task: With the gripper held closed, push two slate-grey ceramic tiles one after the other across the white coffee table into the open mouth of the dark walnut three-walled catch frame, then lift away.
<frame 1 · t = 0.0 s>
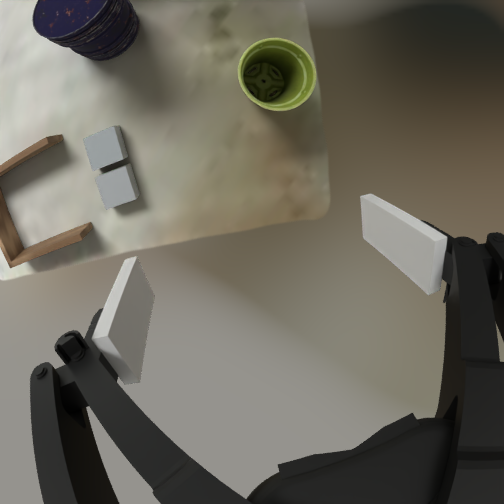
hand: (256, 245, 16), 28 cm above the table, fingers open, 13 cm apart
catch frame: (39, 198, 37), on the table
plant pot: (263, 82, 36), on the table
storage jar: (108, 32, 29), on the table
tile b: (120, 183, 39), on the table
tile a: (109, 146, 37), on the table
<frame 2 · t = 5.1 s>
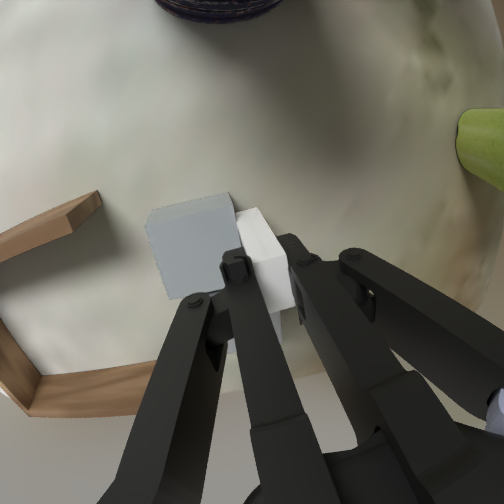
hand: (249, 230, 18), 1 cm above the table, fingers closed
catch frame: (58, 312, 20), on the table
plant pot: (471, 140, 19), on the table
tile b: (239, 300, 22), on the table
tile a: (198, 236, 19), on the table, touching gripper
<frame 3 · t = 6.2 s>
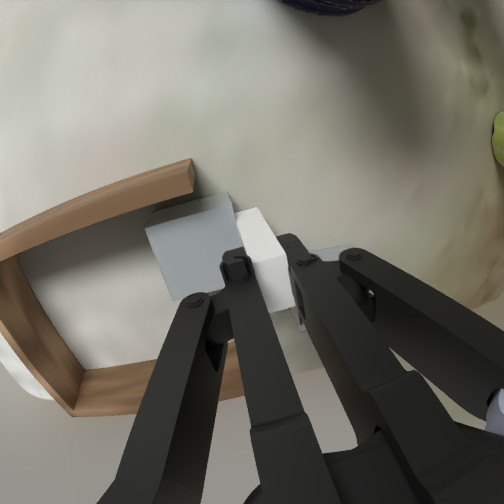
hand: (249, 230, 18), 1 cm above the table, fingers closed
catch frame: (121, 296, 20), on the table
plant pot: (502, 138, 20), on the table
tile b: (319, 276, 22), on the table
tile a: (199, 236, 19), on the table, touching gripper
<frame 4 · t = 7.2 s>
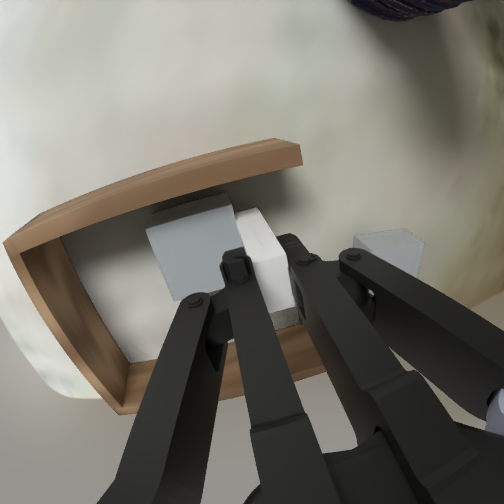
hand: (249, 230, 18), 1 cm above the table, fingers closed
catch frame: (185, 279, 20), on the table
tile b: (376, 258, 23), on the table
tile a: (199, 236, 19), on the table, touching gripper
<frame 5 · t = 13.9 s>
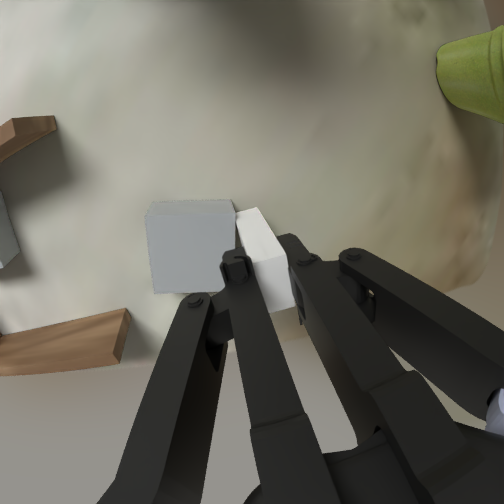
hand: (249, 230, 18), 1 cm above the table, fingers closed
catch frame: (13, 255, 17), on the table
plant pot: (455, 76, 16), on the table
tile b: (192, 236, 19), on the table, touching gripper
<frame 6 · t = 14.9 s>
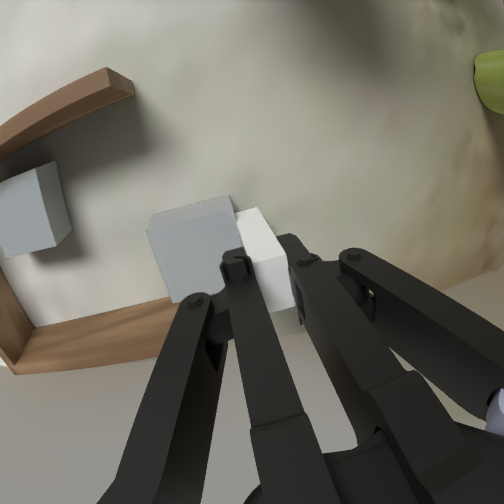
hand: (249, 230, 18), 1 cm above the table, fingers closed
catch frame: (62, 234, 17), on the table
plant pot: (487, 82, 17), on the table
tile b: (199, 239, 19), on the table, touching gripper
tile a: (38, 202, 16), on the table
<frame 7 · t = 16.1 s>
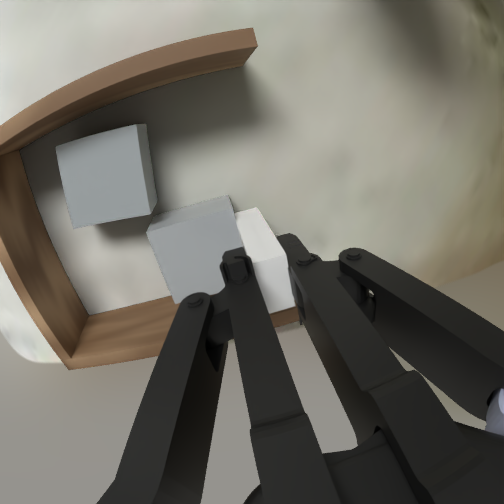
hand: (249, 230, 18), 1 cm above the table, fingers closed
catch frame: (144, 204, 17), on the table
tile b: (200, 239, 19), on the table, touching gripper
tile a: (115, 169, 16), on the table
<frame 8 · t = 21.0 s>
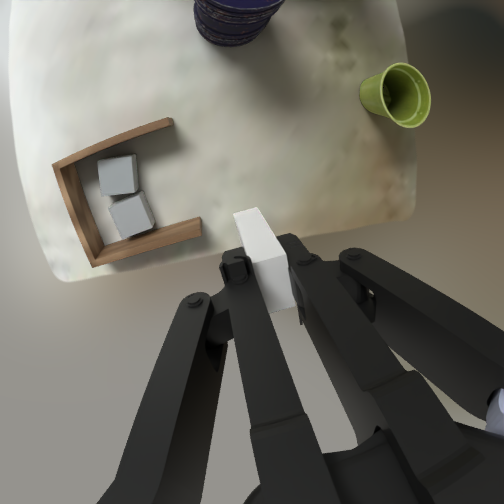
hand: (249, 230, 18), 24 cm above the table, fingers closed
catch frame: (134, 188, 39), on the table
plant pot: (374, 96, 38), on the table
storage jar: (229, 18, 30), on the table
tile b: (134, 211, 40), on the table
tile a: (121, 172, 37), on the table
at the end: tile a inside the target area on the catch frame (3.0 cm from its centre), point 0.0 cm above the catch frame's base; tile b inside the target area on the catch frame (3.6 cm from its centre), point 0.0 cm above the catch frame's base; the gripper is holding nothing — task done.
